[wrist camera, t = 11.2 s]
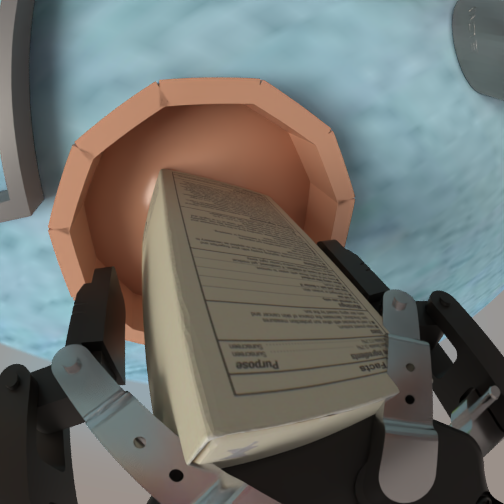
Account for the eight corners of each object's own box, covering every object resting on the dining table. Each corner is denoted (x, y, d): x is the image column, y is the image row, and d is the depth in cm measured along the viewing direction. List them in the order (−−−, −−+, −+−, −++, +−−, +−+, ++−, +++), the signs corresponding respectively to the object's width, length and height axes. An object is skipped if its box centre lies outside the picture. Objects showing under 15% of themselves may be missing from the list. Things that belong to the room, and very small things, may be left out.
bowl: (331, 88, 13) (371, 94, 11) (301, 292, 21) (322, 325, 18) (55, 99, 10) (26, 106, 7) (105, 321, 17) (102, 362, 14)
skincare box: (140, 242, 14) (157, 495, 5) (161, 162, 13) (193, 440, 3) (247, 261, 17) (347, 458, 8) (277, 193, 15) (440, 382, 6)
